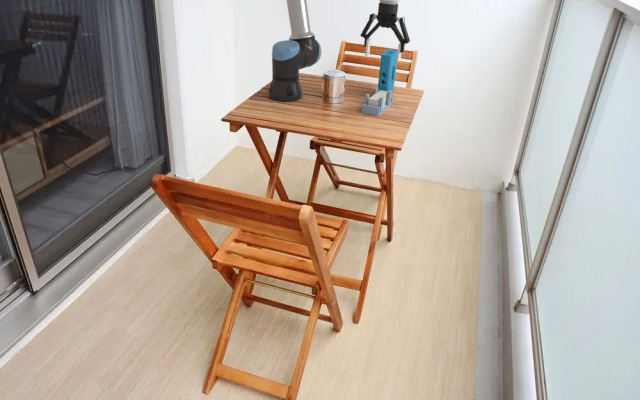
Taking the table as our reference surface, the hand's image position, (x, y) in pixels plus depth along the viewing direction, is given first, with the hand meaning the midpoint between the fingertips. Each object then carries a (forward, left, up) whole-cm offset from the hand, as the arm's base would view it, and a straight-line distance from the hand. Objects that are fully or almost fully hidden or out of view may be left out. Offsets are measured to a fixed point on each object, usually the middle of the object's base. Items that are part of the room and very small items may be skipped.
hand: (382, 57), depth 197 cm
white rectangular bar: (0, 0, -21) cm, 21 cm away
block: (-3, +18, -22) cm, 28 cm away
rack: (0, 0, -22) cm, 22 cm away
